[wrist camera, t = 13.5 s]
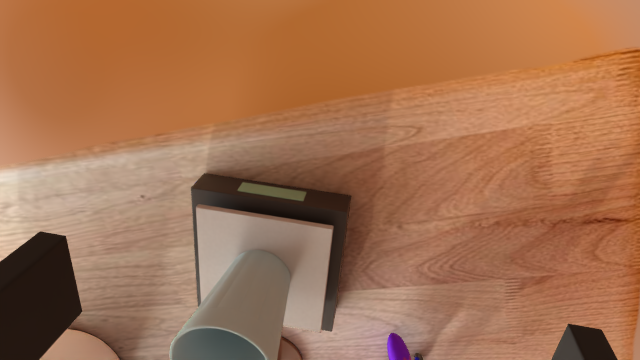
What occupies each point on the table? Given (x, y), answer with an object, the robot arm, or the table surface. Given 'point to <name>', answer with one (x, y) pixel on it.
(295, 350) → the round wooden coaster
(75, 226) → the table surface
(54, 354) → the pitcher
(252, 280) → the cup
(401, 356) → the fox figurine
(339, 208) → the scale
